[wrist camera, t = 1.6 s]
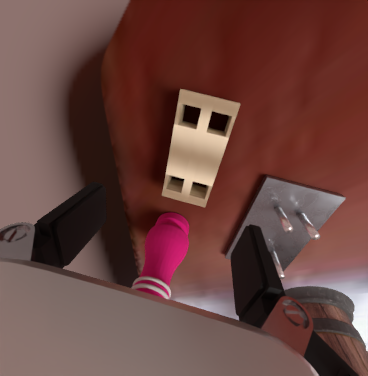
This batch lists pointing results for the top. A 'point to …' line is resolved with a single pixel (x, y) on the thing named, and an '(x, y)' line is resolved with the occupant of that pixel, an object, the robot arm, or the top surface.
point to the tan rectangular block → (197, 148)
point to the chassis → (287, 217)
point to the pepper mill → (163, 254)
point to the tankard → (334, 323)
